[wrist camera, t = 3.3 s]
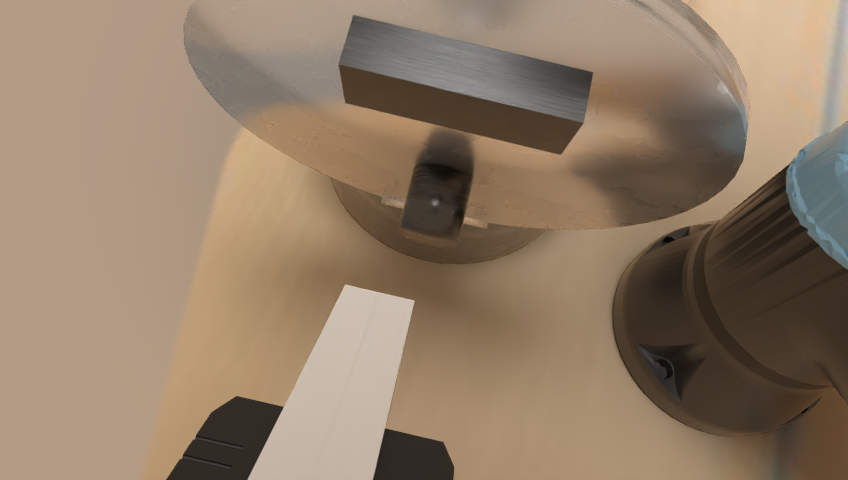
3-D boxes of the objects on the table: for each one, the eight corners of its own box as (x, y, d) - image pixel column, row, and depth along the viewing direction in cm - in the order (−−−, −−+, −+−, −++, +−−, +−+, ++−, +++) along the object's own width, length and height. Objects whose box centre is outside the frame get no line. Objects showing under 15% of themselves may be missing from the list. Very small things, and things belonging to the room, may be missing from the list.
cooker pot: (668, 101, 53) (746, -3, 42) (652, 315, 45) (744, 256, 34) (363, 28, 54) (362, -94, 43) (293, 228, 46) (270, 141, 35)
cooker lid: (933, 14, 14) (927, 189, 13) (613, 235, 35) (601, 310, 34) (79, -188, 14) (6, -32, 13) (266, 151, 35) (243, 222, 34)
